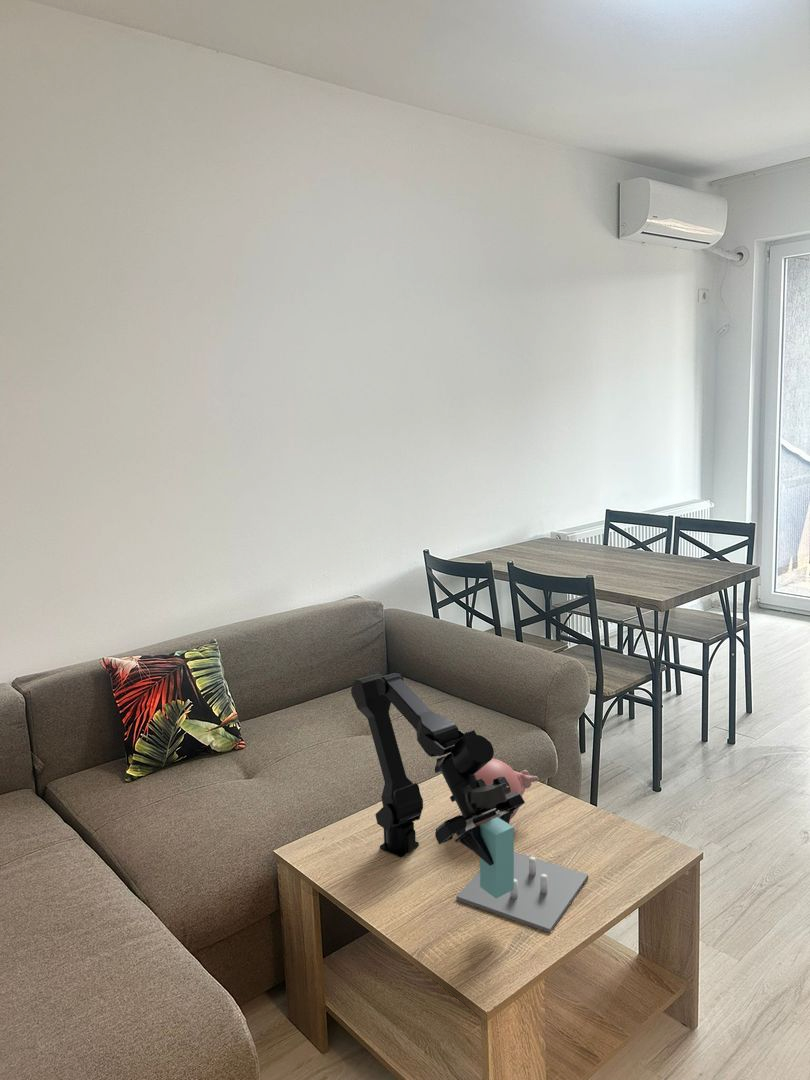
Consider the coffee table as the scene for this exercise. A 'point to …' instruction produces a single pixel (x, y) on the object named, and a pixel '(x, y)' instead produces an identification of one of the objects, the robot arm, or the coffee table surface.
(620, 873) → the coffee table surface
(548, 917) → the peg plate
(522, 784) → the balloon
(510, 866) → the teal block
